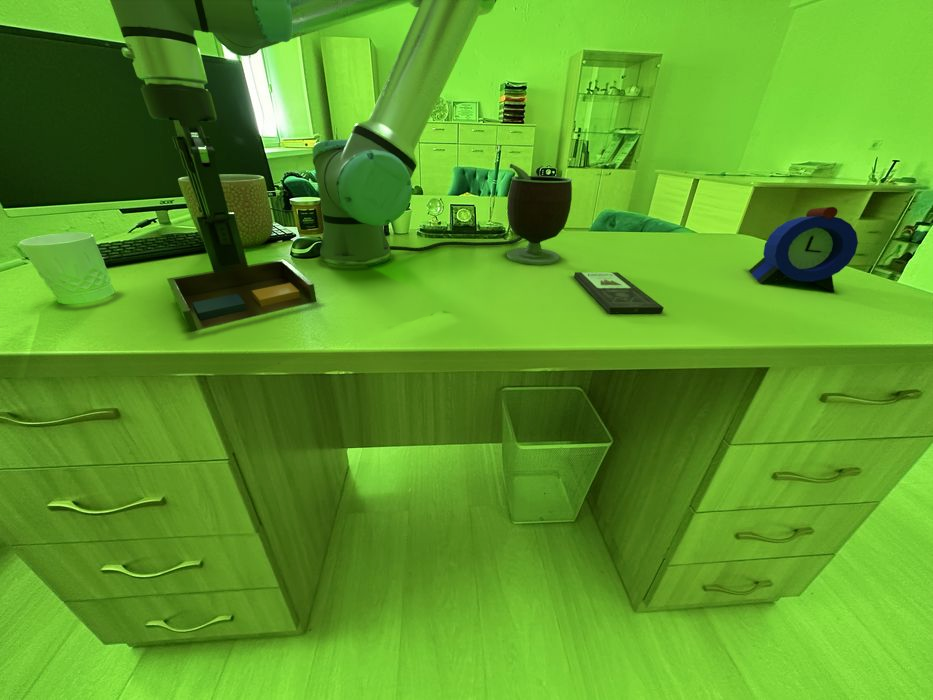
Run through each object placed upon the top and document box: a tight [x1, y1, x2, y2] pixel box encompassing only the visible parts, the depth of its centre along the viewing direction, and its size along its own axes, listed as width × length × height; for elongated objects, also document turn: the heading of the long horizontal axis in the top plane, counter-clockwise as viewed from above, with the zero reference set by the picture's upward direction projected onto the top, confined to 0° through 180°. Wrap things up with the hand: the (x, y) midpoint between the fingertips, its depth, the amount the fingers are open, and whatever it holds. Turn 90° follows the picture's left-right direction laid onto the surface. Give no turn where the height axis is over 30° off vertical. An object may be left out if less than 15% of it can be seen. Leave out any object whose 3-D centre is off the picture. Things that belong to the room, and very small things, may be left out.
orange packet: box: [252, 283, 300, 307], centre depth 59 cm, size 6×4×1 cm, turn 131°
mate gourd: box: [506, 163, 573, 266], centre depth 83 cm, size 16×14×20 cm
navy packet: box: [192, 294, 247, 320], centre depth 55 cm, size 6×4×1 cm, turn 131°
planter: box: [177, 173, 274, 250], centre depth 88 cm, size 17×17×15 cm
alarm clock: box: [748, 206, 859, 293], centre depth 73 cm, size 12×12×15 cm
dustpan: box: [166, 213, 317, 333], centre depth 56 cm, size 17×13×12 cm
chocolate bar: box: [573, 271, 664, 314], centre depth 68 cm, size 9×1×18 cm
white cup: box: [18, 231, 116, 305], centre depth 57 cm, size 8×8×10 cm
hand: (229, 262), depth 60 cm, fingers closed on dustpan, 1 cm apart
